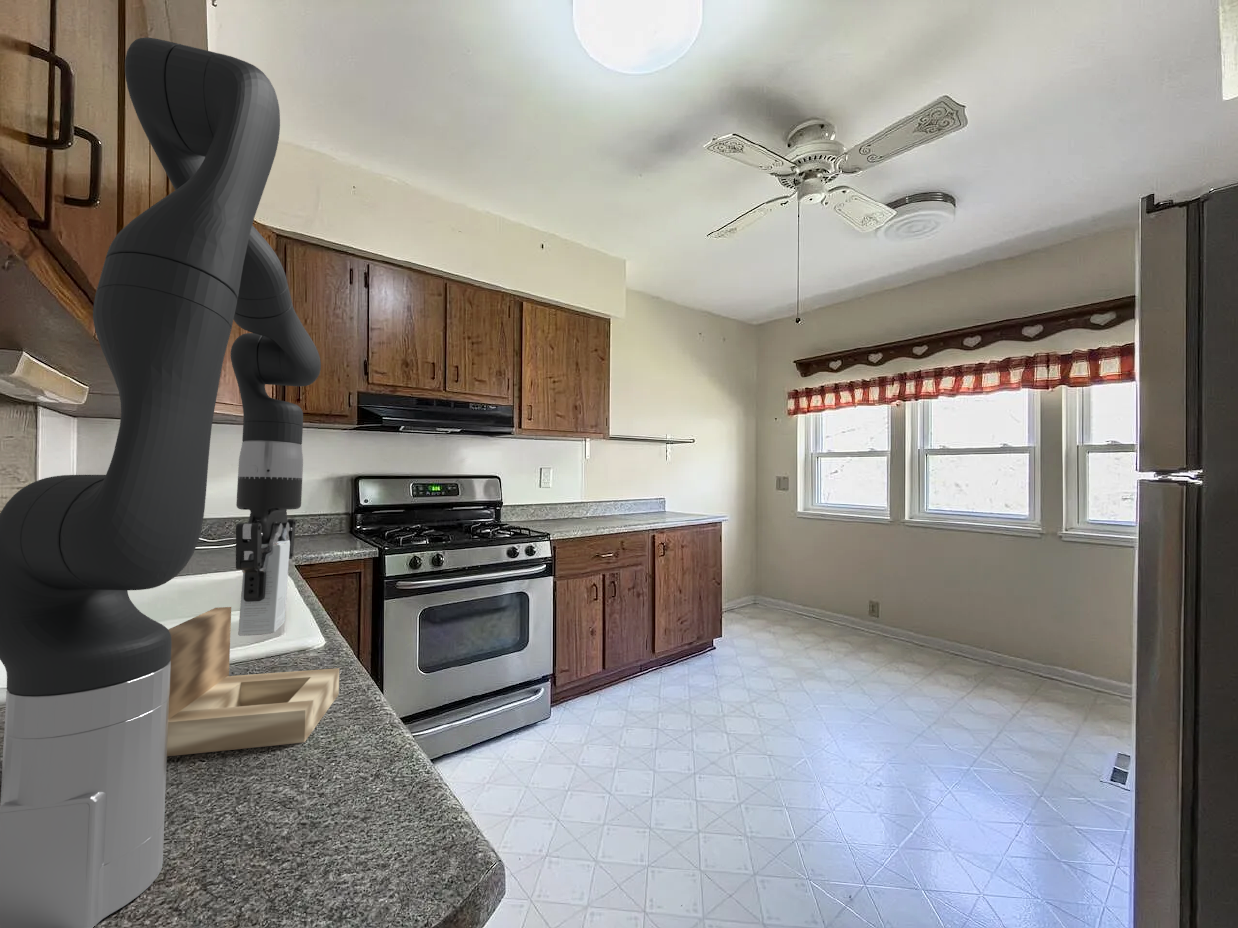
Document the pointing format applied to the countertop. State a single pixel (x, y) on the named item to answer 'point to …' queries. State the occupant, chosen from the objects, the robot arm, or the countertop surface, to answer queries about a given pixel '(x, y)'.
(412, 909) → the countertop surface
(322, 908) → the countertop surface
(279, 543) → the skincare box
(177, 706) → the wooden frame with backboard
